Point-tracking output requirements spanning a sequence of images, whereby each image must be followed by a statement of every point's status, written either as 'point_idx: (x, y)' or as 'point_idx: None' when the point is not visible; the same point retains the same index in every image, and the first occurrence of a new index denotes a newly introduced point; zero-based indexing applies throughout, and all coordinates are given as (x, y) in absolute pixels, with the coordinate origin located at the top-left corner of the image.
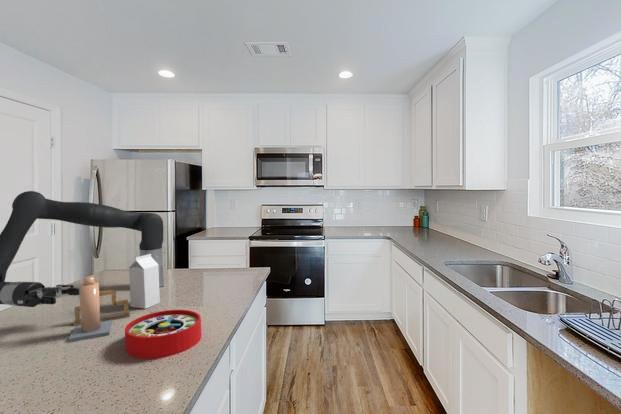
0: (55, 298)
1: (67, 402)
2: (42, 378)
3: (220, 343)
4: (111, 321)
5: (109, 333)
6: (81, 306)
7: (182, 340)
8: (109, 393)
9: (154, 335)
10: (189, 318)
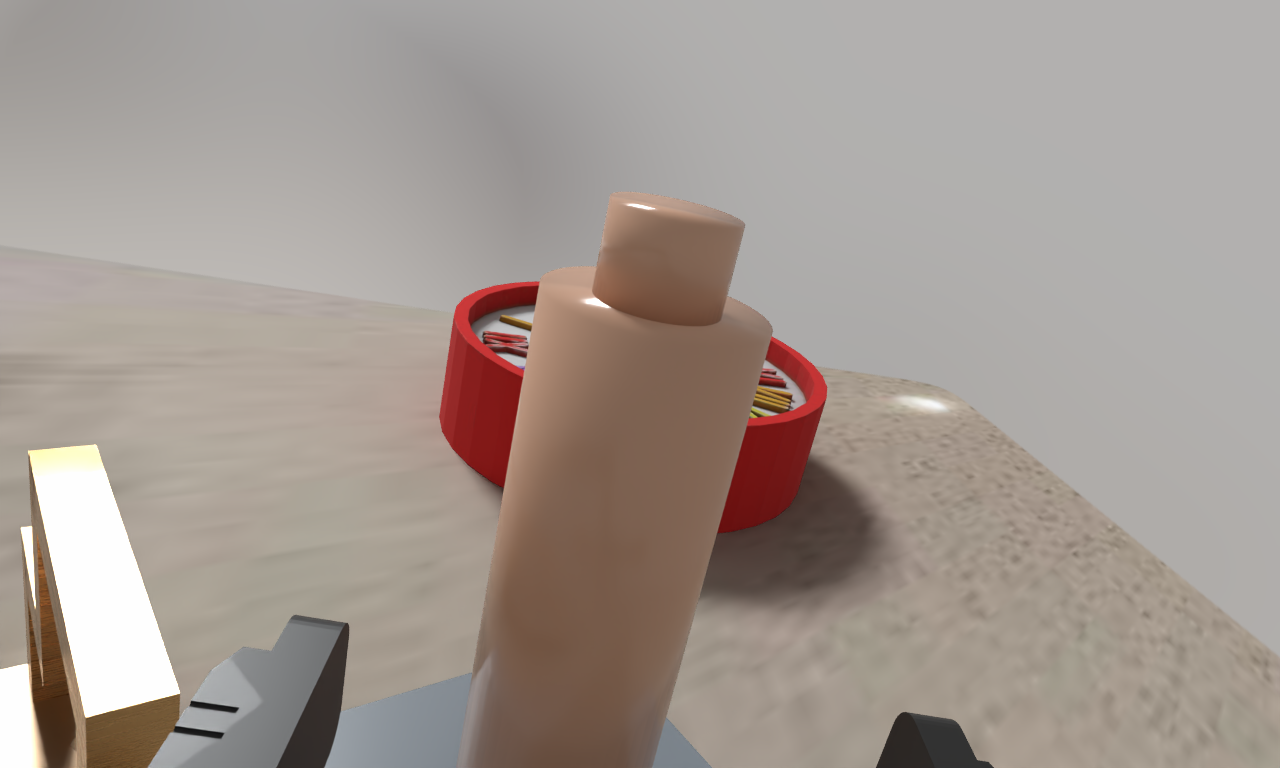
0: (898, 729)
1: (1132, 557)
2: (1161, 719)
3: None
4: None
5: None
6: (703, 581)
7: None
8: (1015, 489)
9: None
10: (528, 317)
